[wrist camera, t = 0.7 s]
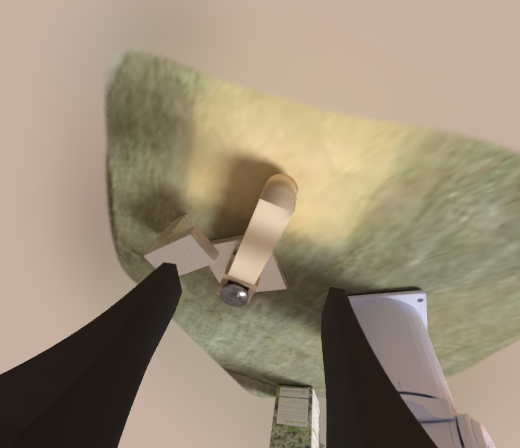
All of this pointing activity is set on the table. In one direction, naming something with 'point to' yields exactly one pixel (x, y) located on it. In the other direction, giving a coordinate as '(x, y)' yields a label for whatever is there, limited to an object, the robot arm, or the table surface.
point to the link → (262, 233)
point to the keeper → (182, 247)
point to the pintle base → (236, 292)
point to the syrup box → (295, 418)
